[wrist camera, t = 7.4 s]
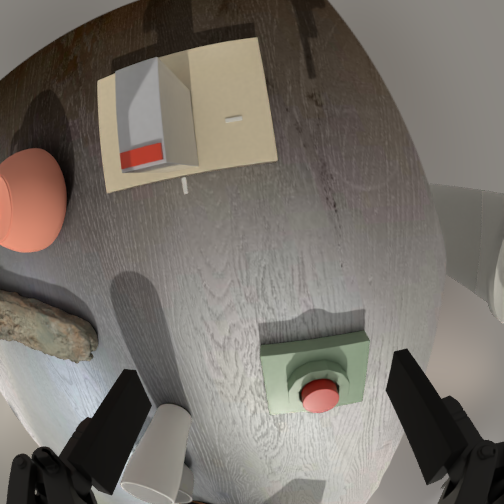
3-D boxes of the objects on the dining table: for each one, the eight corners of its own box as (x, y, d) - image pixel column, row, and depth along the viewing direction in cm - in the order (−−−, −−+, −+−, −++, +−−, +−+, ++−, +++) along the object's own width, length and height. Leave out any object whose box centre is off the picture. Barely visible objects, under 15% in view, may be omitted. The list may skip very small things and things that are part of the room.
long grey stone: (111, 362, 34) (99, 299, 31) (96, 383, 28) (79, 316, 26) (-18, 322, 33) (-29, 276, 31) (-33, 332, 28) (-46, 283, 25)
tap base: (258, 50, 22) (257, 36, 18) (278, 179, 25) (280, 179, 22) (111, 87, 23) (96, 80, 20) (123, 206, 26) (108, 209, 23)
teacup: (179, 447, 37) (168, 483, 29) (209, 475, 39) (203, 506, 32) (122, 448, 39) (109, 476, 31) (154, 474, 41) (145, 501, 33)
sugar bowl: (87, 235, 27) (27, 261, 17) (22, 254, 29) (-28, 277, 19) (70, 133, 24) (7, 127, 14) (7, 171, 25) (-46, 179, 16)
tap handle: (158, 98, 20) (113, 70, 13) (190, 90, 20) (156, 54, 12) (166, 172, 22) (119, 173, 14) (199, 166, 22) (165, 162, 14)
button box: (364, 330, 29) (375, 349, 25) (358, 390, 31) (365, 410, 28) (260, 344, 30) (259, 366, 26) (269, 403, 32) (269, 425, 29)
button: (336, 375, 26) (340, 386, 25) (335, 399, 27) (338, 409, 26) (300, 381, 27) (302, 392, 25) (301, 404, 28) (303, 415, 26)
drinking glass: (153, 392, 33) (114, 475, 19) (199, 406, 33) (175, 495, 19) (153, 419, 35) (123, 493, 20) (195, 431, 35) (175, 510, 20)
